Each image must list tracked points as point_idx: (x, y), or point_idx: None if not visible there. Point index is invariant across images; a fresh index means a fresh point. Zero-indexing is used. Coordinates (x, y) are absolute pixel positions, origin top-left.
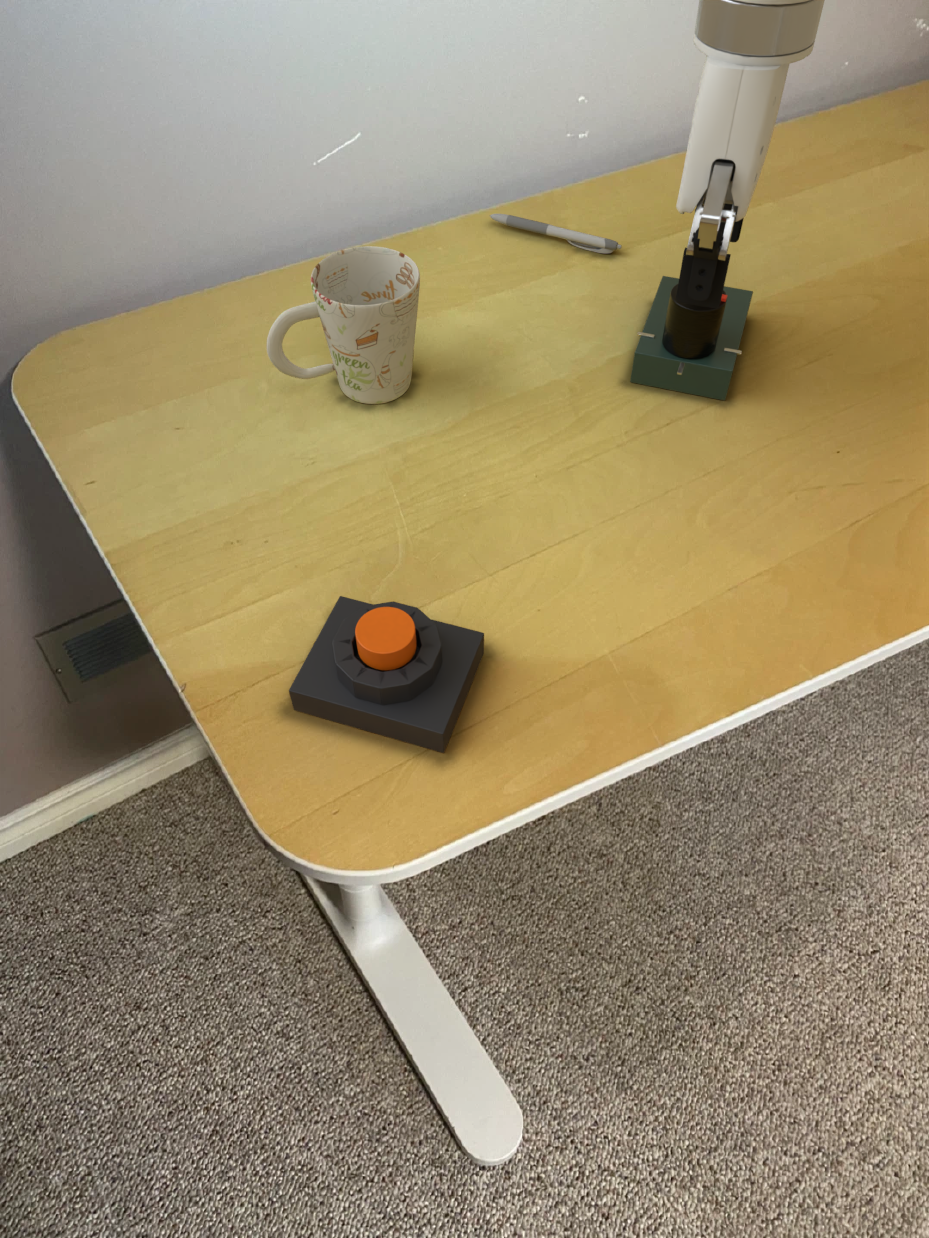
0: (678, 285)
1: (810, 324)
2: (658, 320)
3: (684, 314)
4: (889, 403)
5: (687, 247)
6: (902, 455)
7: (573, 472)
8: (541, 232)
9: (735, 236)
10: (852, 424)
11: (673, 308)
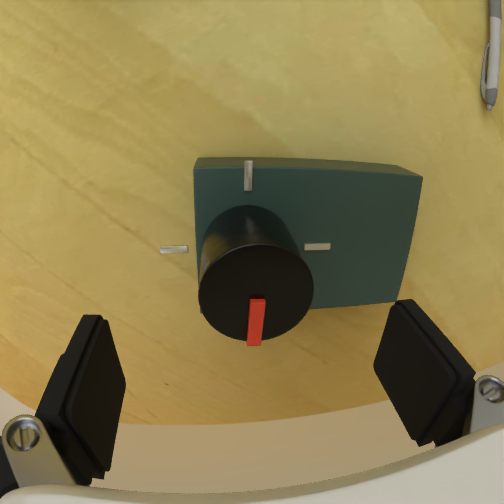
0: (72, 337)
1: (375, 337)
2: (300, 188)
3: (200, 276)
4: (257, 407)
5: (2, 437)
6: (187, 417)
7: (9, 148)
8: (490, 11)
9: (378, 372)
10: (213, 390)
11: (215, 251)
